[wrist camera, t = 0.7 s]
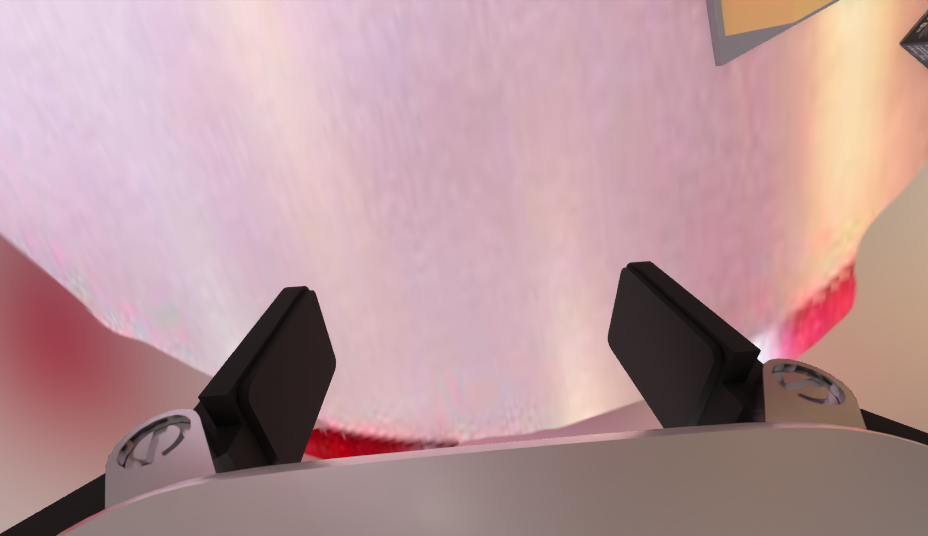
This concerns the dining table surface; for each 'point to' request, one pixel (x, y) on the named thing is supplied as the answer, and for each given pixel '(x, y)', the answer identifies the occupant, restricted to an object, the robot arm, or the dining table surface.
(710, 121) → the dining table surface
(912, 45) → the box
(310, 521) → the robot arm
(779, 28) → the fuse block
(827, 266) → the dining table surface
